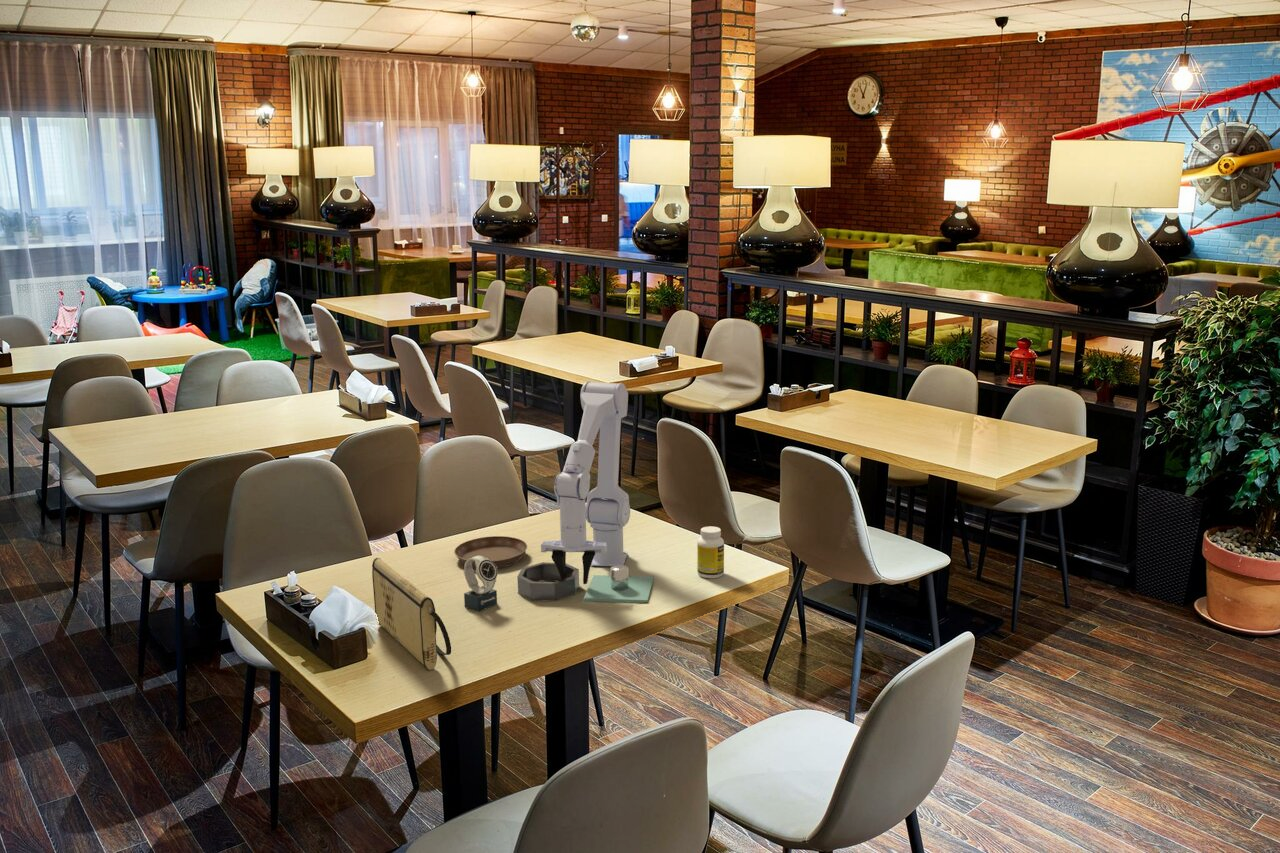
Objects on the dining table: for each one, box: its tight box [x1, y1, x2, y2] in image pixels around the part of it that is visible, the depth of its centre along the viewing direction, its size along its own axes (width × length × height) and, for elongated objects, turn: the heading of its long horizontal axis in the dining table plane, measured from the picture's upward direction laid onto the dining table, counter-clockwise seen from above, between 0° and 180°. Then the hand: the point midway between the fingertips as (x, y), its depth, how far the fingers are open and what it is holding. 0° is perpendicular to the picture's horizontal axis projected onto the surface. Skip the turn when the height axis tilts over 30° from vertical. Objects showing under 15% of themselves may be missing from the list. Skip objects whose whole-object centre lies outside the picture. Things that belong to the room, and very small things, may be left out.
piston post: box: [609, 565, 629, 591], centre depth 238 cm, size 4×4×4 cm
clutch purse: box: [371, 557, 452, 671], centre depth 211 cm, size 30×7×15 cm, turn 34°
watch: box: [463, 556, 499, 612], centre depth 230 cm, size 6×8×11 cm
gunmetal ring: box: [517, 561, 580, 602], centre depth 239 cm, size 13×13×4 cm
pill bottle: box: [696, 525, 725, 579], centre depth 246 cm, size 6×6×11 cm
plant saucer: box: [453, 535, 528, 569], centre depth 260 cm, size 18×18×3 cm
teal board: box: [583, 574, 655, 603], centre depth 239 cm, size 14×14×1 cm
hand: (574, 582), depth 239 cm, fingers open, 4 cm apart
